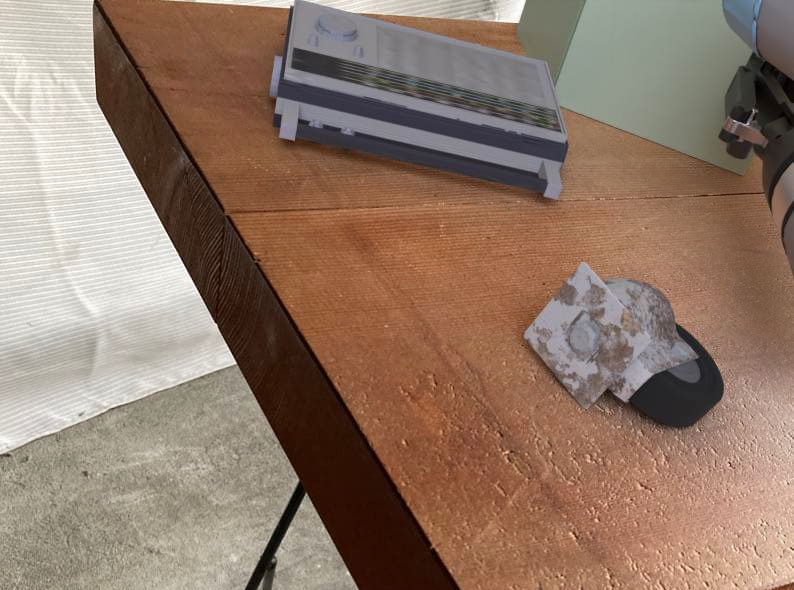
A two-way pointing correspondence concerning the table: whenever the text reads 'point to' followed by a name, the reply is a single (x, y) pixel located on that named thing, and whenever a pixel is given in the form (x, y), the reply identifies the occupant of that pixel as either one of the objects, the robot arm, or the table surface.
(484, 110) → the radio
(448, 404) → the table surface
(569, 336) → the camo patterned piece
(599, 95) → the cabinet door
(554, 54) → the cabinet
